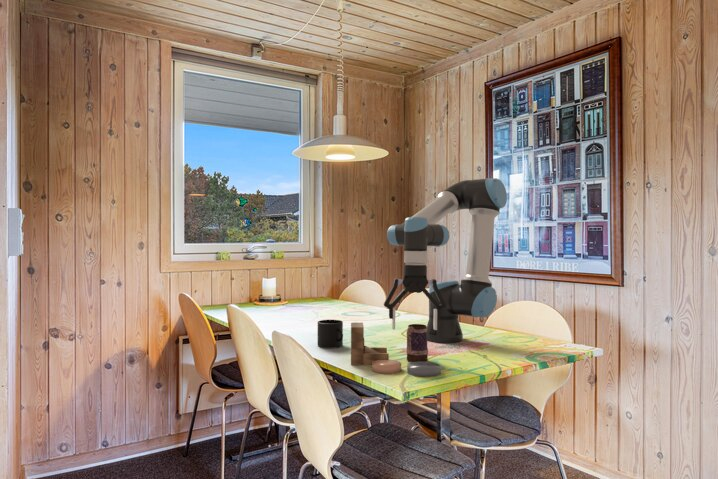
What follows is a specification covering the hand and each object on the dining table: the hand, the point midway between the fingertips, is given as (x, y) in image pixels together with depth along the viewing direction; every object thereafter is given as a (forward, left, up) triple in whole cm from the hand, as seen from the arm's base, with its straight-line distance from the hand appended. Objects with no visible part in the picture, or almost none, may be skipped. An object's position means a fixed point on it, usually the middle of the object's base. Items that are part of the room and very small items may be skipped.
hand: (414, 329), depth 164 cm
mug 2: (0, 0, -11) cm, 11 cm away
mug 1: (+28, -23, -11) cm, 38 cm away
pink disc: (+10, +10, -11) cm, 17 cm away
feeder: (+15, 0, -11) cm, 18 cm away
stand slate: (-1, +13, -11) cm, 17 cm away
